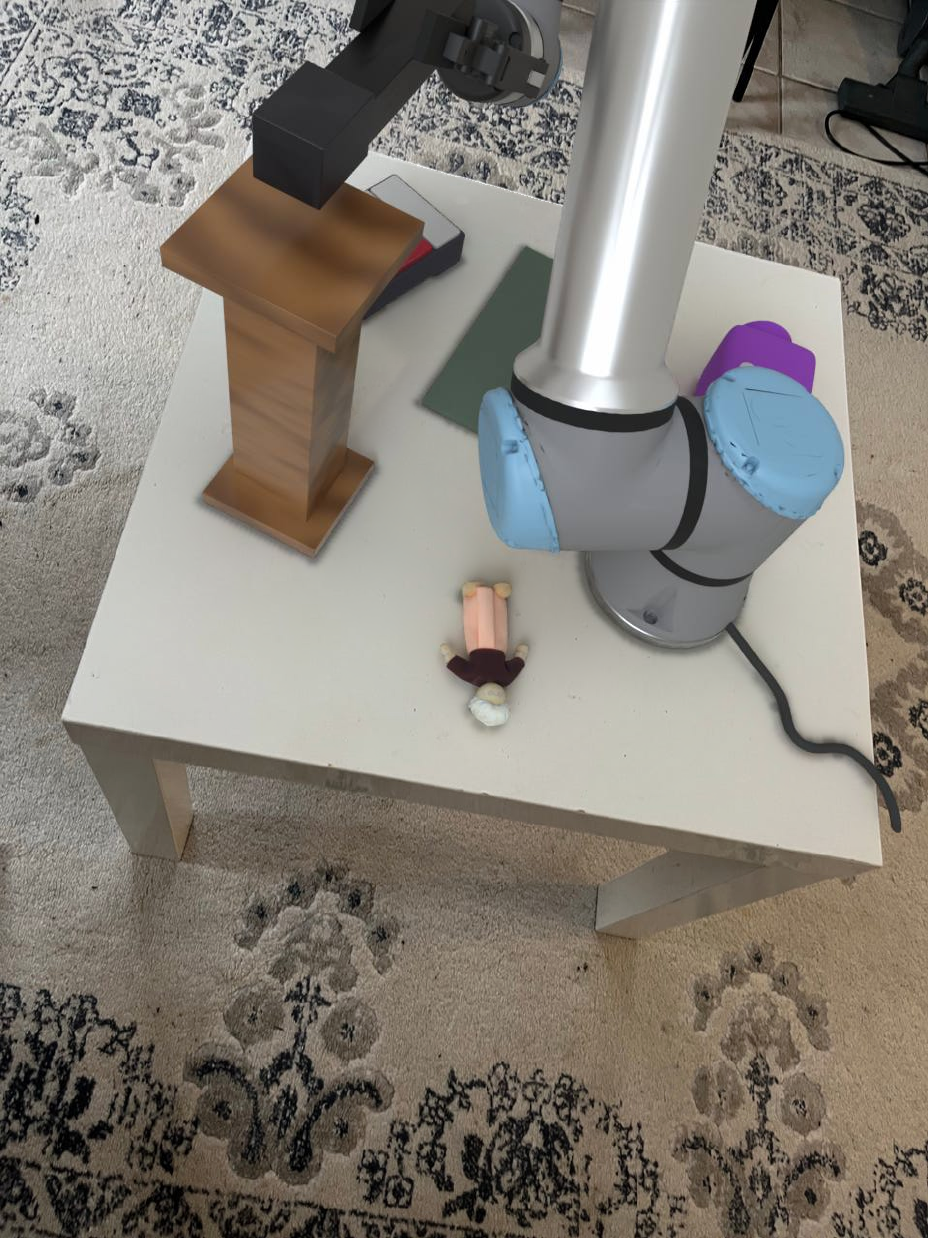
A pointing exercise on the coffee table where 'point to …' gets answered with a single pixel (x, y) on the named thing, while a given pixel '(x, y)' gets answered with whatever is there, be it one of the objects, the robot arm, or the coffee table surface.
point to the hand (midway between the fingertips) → (393, 20)
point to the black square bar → (343, 103)
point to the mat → (494, 341)
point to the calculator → (431, 253)
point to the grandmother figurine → (486, 651)
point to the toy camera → (759, 354)
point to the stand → (291, 342)
